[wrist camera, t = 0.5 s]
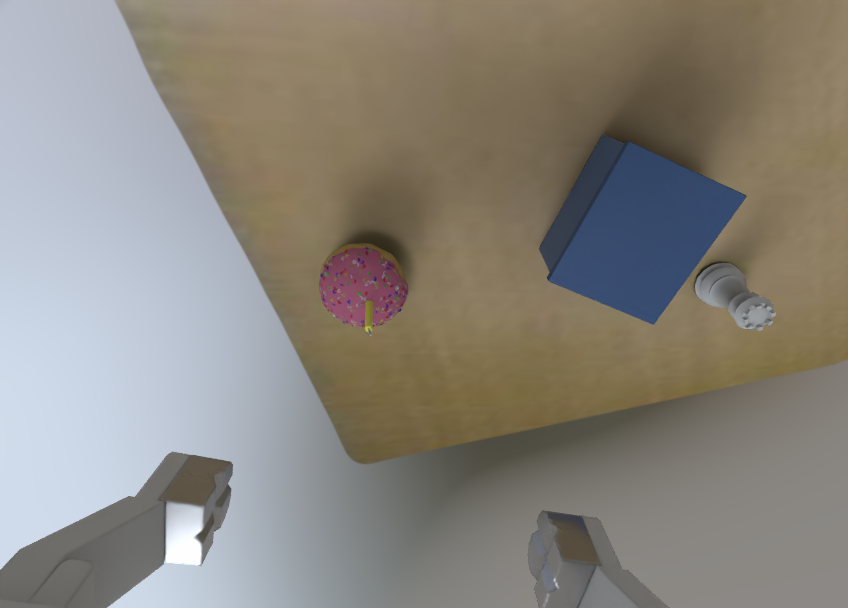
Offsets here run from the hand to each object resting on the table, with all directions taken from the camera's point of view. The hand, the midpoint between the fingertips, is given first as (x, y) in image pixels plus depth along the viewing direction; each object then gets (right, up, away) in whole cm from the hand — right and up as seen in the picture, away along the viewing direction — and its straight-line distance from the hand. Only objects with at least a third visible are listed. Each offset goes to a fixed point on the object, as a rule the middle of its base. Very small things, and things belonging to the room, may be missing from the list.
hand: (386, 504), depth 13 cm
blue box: (+20, +14, +34) cm, 42 cm away
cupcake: (-5, +9, +39) cm, 40 cm away
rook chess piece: (+31, +8, +37) cm, 49 cm away
